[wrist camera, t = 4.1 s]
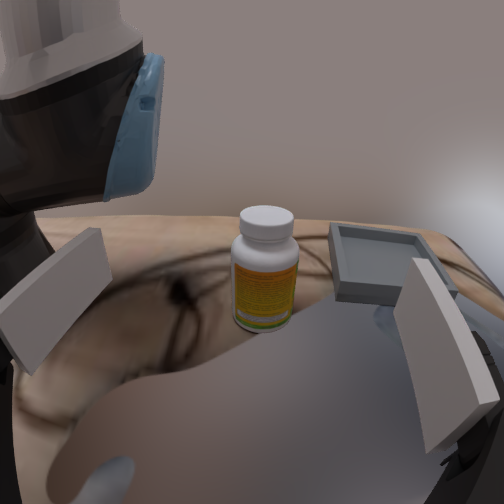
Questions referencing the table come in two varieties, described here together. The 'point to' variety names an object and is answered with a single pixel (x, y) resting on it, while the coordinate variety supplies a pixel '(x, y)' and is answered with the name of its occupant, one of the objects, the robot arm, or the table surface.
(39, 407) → the table surface
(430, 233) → the table surface
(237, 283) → the supplement bottle
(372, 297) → the grey tray
